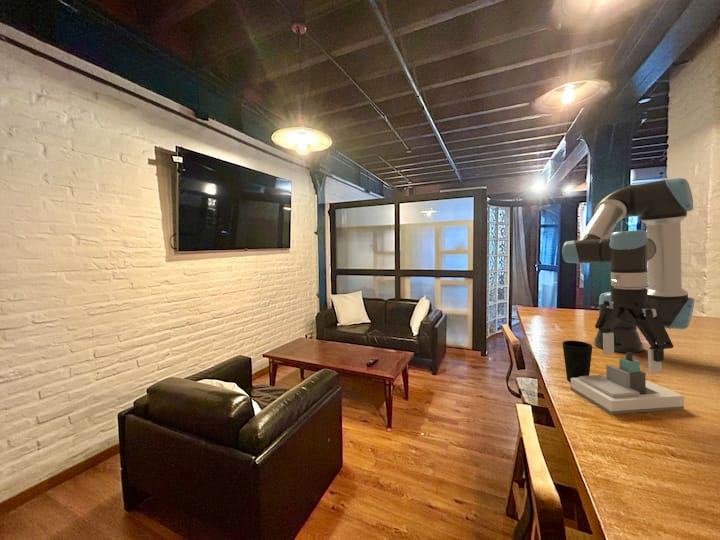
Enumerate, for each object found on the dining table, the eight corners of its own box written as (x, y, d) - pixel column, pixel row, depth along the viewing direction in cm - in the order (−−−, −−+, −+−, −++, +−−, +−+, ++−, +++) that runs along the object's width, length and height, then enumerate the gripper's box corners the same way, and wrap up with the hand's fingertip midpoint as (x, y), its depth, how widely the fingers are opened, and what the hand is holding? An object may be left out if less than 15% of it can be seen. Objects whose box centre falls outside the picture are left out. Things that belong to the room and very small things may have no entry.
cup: (594, 388, 89) (593, 349, 88) (563, 383, 93) (563, 346, 92) (591, 378, 95) (590, 342, 95) (562, 374, 99) (561, 339, 99)
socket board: (632, 385, 89) (632, 373, 89) (683, 409, 75) (683, 395, 75) (570, 389, 89) (570, 378, 89) (611, 414, 75) (611, 400, 75)
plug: (631, 391, 84) (631, 350, 84) (645, 398, 80) (645, 354, 80) (614, 392, 84) (614, 351, 84) (627, 399, 80) (627, 356, 80)
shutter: (603, 377, 88) (602, 361, 87) (639, 395, 76) (639, 377, 76) (579, 378, 87) (579, 363, 87) (612, 397, 76) (612, 379, 76)
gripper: (580, 283, 93) (581, 348, 94) (663, 294, 68) (663, 383, 70) (603, 281, 93) (604, 346, 95) (694, 292, 68) (694, 381, 70)
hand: (629, 362), depth 82 cm, fingers open, 13 cm apart
